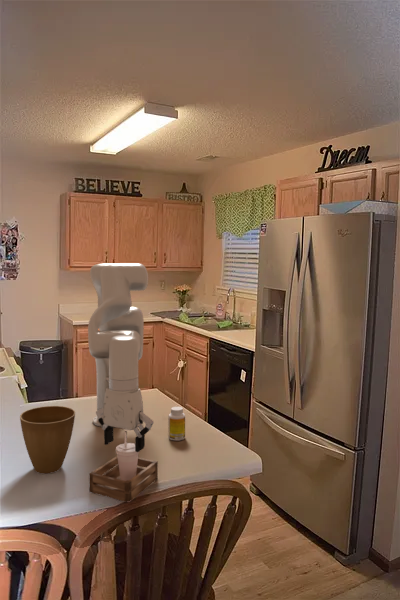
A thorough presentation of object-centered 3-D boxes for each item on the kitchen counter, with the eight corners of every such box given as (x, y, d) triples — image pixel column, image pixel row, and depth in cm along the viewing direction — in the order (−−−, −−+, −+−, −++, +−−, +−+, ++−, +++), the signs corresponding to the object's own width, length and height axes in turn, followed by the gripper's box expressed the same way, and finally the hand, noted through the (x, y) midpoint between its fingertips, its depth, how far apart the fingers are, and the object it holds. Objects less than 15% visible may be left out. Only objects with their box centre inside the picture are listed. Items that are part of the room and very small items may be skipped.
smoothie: (116, 477, 129) (116, 427, 128) (140, 476, 130) (140, 426, 129) (114, 489, 123) (114, 436, 122) (140, 488, 124) (139, 435, 122)
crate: (120, 470, 136) (120, 453, 135) (157, 478, 130) (157, 461, 130) (89, 492, 123) (89, 473, 123) (128, 502, 118) (128, 483, 117)
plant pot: (23, 484, 127) (21, 425, 125) (19, 462, 140) (18, 408, 139) (80, 474, 133) (79, 418, 131) (71, 454, 146) (71, 403, 145)
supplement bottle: (187, 440, 158) (187, 410, 157) (171, 442, 156) (171, 411, 155) (182, 434, 163) (182, 405, 162) (166, 436, 161) (166, 406, 160)
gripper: (87, 382, 125) (88, 445, 127) (144, 392, 117) (144, 458, 119) (105, 375, 131) (105, 435, 133) (160, 384, 124) (159, 447, 126)
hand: (124, 446), depth 126 cm, fingers open, 9 cm apart
